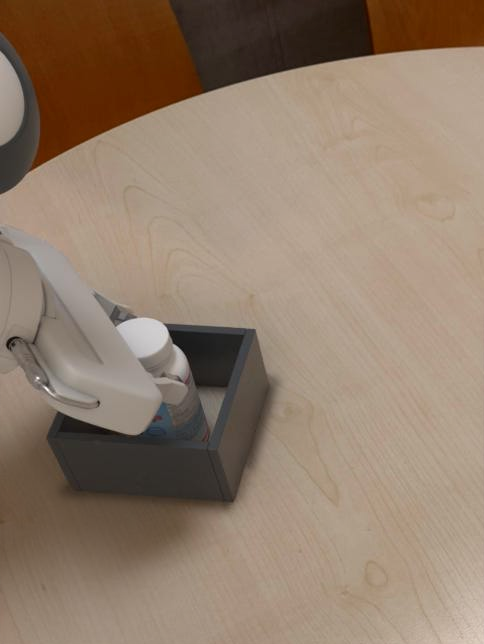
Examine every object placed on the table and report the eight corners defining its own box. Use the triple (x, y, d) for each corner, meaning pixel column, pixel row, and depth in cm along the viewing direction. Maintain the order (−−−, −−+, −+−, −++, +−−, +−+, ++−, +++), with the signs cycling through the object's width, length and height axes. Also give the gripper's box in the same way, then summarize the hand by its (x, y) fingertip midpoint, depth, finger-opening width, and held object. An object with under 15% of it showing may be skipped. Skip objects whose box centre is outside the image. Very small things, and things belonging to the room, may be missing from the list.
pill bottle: (124, 447, 90) (80, 344, 81) (174, 404, 93) (137, 300, 83) (176, 477, 88) (137, 376, 79) (225, 432, 91) (193, 329, 81)
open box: (77, 501, 88) (45, 438, 82) (124, 385, 96) (97, 319, 89) (237, 512, 87) (216, 449, 81) (272, 394, 95) (255, 328, 88)
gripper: (61, 356, 67) (234, 403, 78) (-46, 189, 76) (122, 252, 87) (21, 435, 69) (193, 469, 80) (-78, 264, 79) (89, 316, 90)
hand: (155, 355), depth 84 cm, fingers open, 8 cm apart
